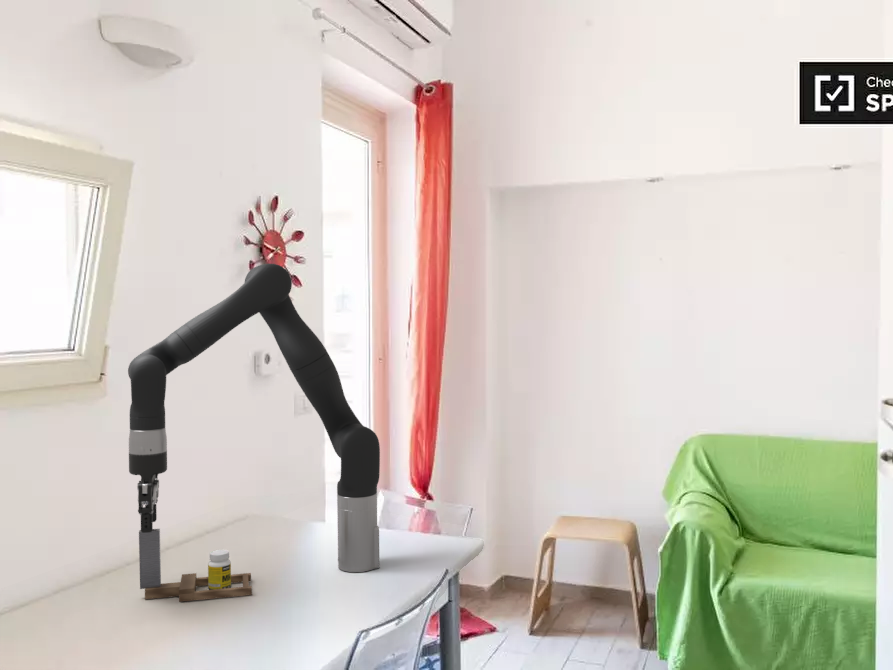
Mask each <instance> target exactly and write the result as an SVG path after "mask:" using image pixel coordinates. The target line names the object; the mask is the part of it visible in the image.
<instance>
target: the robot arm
mask: <svg viewBox="0 0 893 670" xmlns="http://www.w3.org/2000/svg"><path fill="white" fill-rule="evenodd" d="M292 286H293V283H292V278H291V275H290V273H289V272H288V270H287V269H286V268H284V267H283V266H281V265H279V264H276V263H264V264H261V265H258V266H257V265H256V266H255V267H253V268H251V269H250V270H249V271H248V272H247V274H246V275H245V278H244V282H243V284H242V285H241V286H240V287H239V288H237V290H236V291H234V292H233V293H231V294H230V295H229V296H227V297H226V298H225V299H223V300H222V301H220V302H218V303H217V304H215V305H213V306H212V307H209V308H208V309H207V310H204V311H203V312H201V313H200V314H198V315H197V316H195V317H193V318H192V319H190V320H188V321H187V322H185V323H184V324H182V325H181V326H179V327H178V328H177V329H176V330H174V331H173V332H171V333H170V334H169V335H168V336H166V338H165V339H163V340H161V341H159V342H158V343H156V344H154V345H153V346H151V347H149V348H148V349H146V350H145V351H143V352H141V353H140V354H138V355H136V356H135V357H134V358H133V359H132V360H131V361H130V363H129V365H128V368H127V369H128V370H127V373H128V377H129V379H130V395H131V404H130V405H129V406H130V407H129V433H128V434H129V436H128V472H129V474H130V475H133V476H140V480H139V481H138V483H137V486H136V487H137V492H138V493H137V504H138V509H137V512H138V514H139V516H140V530H141V532H142V533H148V532H152V530H153V529H154V528H153V523H155V522H156V521H157V518H158V517H157V515H158V514H157V504H158V501H159V500H158V499H159V495H160V494H159V493H160V490H159V489H160V479H158V476H159V475H160V474H163V473H165V472H167V470H168V440H167V431H166V408H165V400H166V389H167V376H168V375H169V374H170V373H171V372H173V371H174V370H176V369H177V368H178V367H180V366H182V365H185V364H188V362H191V361H192V360H194V359H195V358H197V357H198V356H199V355H200V354H202V353H203V352H205V351H206V350H207V349H209V348H210V347H212V346H213V345H214V344H216V343H217V342H218V341H220V339H223V337H226V335H228V334H229V333H230V332H232V330H234V329H235V328H236V327H238V326H239V325H241V324H243V323H244V322H245V321H247V320H249V319H250V318H252V317H253V316H255V315H256V314H260V316H261V317H262V319H263V320H264V322H265V323H266V325H267V326H268V328H269V329H270V331H271V333H272V335H273V337H274V340H275V342H276V344H277V345H278V348H279V350H280V352H281V354H282V356H283V358H284V360H285V362H286V364H287V366H288V368H289V370H290V372H291V373H292V375H293V377H294V380H296V383H297V384H298V385H299V388H300V389H301V390H302V392H303V393H304V395H305V396H306V398H307V400H308V401H309V402H310V404H311V405H312V407H313V409H314V411H316V413H317V414H318V416H319V418H320V419H321V422H322V424H323V426H324V428H325V431H326V433H327V435H328V438H329V440H330V443H331V445H332V448H333V449H334V453H336V454H337V456H338V457H339V459H340V478H339V480H338V481H337V486H336V493H337V495H336V497H337V499H336V501H337V502H336V503H337V505H336V506H337V511H336V512H337V513H336V514H337V566H338V569H339V570H340V571H343V572H347V573H349V572H350V573H363V572H369V571H372V570H374V569H379V568H380V527H379V525H378V484H379V481H380V474H381V473H380V471H381V470H380V467H381V465H380V464H381V461H380V460H381V458H380V457H381V450H380V449H381V448H380V446H381V445H380V442H379V440H380V439H379V438H378V436H377V433H375V432H374V431H373V430H372V429H370V428H369V427H367V426H365V425H363V424H362V423H361V421H360V420H359V419H358V417H357V415H355V413H354V411H353V410H352V408H351V407H350V405H349V403H348V401H347V399H346V396H345V392H344V388H343V386H342V382H341V378H340V375H339V372H338V369H337V368H336V366H335V364H334V362H333V359H332V358H331V356H330V354H329V353H328V351H327V349H326V347H325V345H324V344H323V343H322V341H321V340H320V338H319V337H318V336H317V335H316V334H315V333H314V331H313V330H312V329H311V328H310V327H309V325H308V324H307V323H306V322H305V321H304V320H303V318H302V317H301V316H300V314H299V313H298V310H297V309H296V308H295V305H294V303H293V301H292V299H291V297H290V293H291V291H292ZM144 505H145V506H144Z"/></svg>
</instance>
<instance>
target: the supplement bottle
mask: <svg viewBox="0 0 893 670" xmlns="http://www.w3.org/2000/svg"><path fill="white" fill-rule="evenodd" d="M229 558H230V551H229V550H228V549H216V550H213V551H210V552H209V560H210V561H209V562H208V564H207V577H208V585H207V587H208V588H207V590H213V589H224V588H232V583H231V575H232V562H231V560H230V559H229Z"/></svg>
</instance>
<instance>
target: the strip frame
mask: <svg viewBox="0 0 893 670" xmlns="http://www.w3.org/2000/svg"><path fill="white" fill-rule="evenodd" d="M138 545H139V546H138V549H139V551H138V553H139V555H138V556H139V558H138V560H139V589H140V590H143V589H144V599H145V600H149V599H150V600H151V599H152V600H153V599H162V598H163V599H164V598H173V597H178V598H179V599H178V601H179V603H181V602H190V601H200V600H202V601H203V600H211V599H214V600H215V599H223V598H233V597H246V596H253V592H252V591H253V589H252V588H253V587H252V585H250V583H249V582H252V573H251V572H246V573H245V572H244V573H235V574H231V584H237V583H242V586H235V587H231V588H224V589H213V590H208V589H204V590H203V589H202V590H197V587H202V586H208V576H201V577H199V576H197V572H196V573H195V572H194V573H184V574H181V577H180V581H177V582H165V583H162V571H161V569H162V568H161V566H162V565H161V563H162V561H161V528H153V530H152V532H148V533H142V532H141V529H140V530H138Z"/></svg>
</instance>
